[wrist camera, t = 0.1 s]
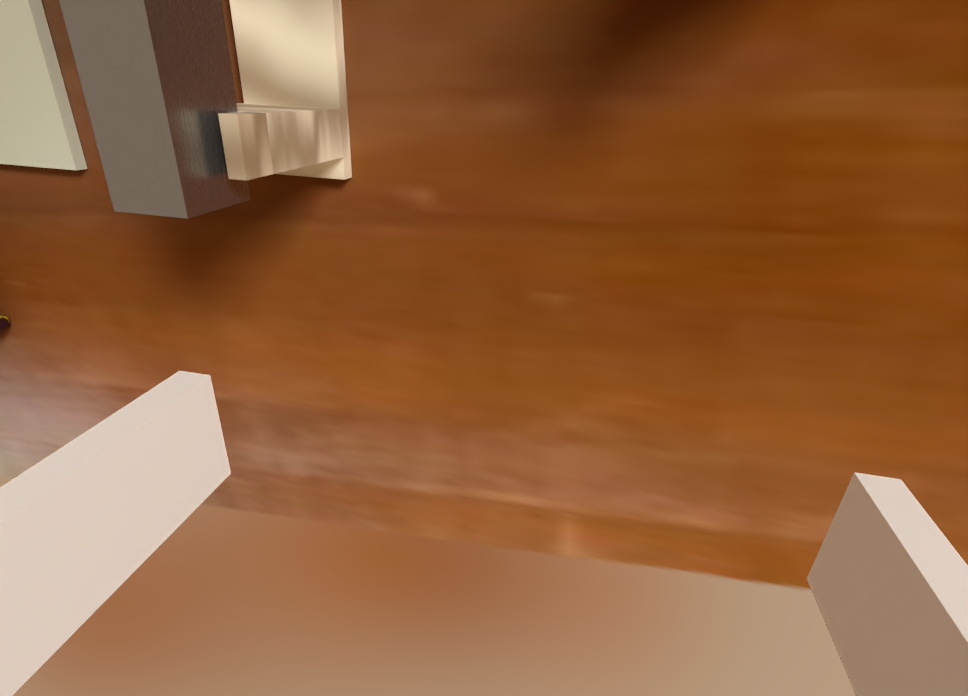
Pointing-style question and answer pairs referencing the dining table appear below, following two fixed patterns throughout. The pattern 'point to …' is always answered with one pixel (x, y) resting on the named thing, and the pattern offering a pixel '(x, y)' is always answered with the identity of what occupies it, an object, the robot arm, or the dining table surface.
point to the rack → (288, 91)
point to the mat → (33, 93)
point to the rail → (157, 101)
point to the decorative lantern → (4, 323)
